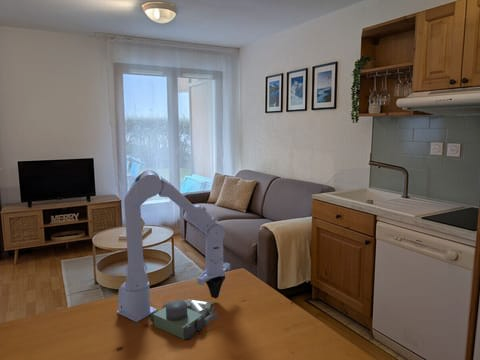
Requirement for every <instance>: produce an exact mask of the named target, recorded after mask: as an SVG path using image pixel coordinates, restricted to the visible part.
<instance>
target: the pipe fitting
mask: <svg viewBox="0 0 480 360" xmlns="http://www.w3.org/2000/svg"><path fill="white" fill-rule="evenodd" d="M186 300H187V301H186V303H187V308H188V309H190V310H193V311H195V312H198V313H200V314H203V318H206V317H207V316H208V315H210V314H212V313H213V312H214V302H213V301H205V300H204V301H202V300H196V299H195V300H194V299H189V298H188V299H186Z"/></svg>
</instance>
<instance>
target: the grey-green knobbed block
mask: <svg viewBox="0 0 480 360" xmlns="http://www.w3.org/2000/svg"><path fill="white" fill-rule="evenodd" d="M186 301H187V299H185V300H181V299H179V300H177V299H174V300H172V301H169V302H168V303H165V304H164V305H162V308H161V309H160V310H158V309H157V310H155V311H153V312H152V313H151V314H150V316H149V321H150V322H151V323H153V326H155V327H157V328H159V329H161V330H162V331H165V332H167V333H169V334H172V335H174V336H175V337H177V338H180V339H182V340H191V339H192V338H193V337H194V335H195V333H196V332H197V331H199V332H201V331H203V330H204V329H205V327H206V326H207V325H208V324H210V323H211V322H212V321H214V320H215V319H216V318H218V312H217V311H214V310H213V311H212V313H211V314H208V315H206V317H205V318H203V314H200V313H198V312H195V311H193V310H190V309H188V308H187V303H186Z"/></svg>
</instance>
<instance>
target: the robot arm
mask: <svg viewBox="0 0 480 360" xmlns="http://www.w3.org/2000/svg"><path fill="white" fill-rule="evenodd" d="M157 195H159V197H161V198H169V199H170V200H171V201H172V202H173V203H175V205H177V206H178V207H179V208H180V209H182V210H183V211H184V212H185V213H186V219H187V220H188V221H189V222H190V223H191V224H193V226H194V227H196V229H198V230H199V231H200V232H202V233H203V234H204V235H205V244H204V247H205V249H204V251H205V258H204V259H205V261H204V262H205V270H204V271H203V272H202V273H201V275H200V276H198V277H197V284H198V285H200V286H204V285H205V284H206V285H207V287H208V292H209V295H210V296H211V297H210V298H213V299H218V298H219V296H220V292H221V288H222V285H223V283H224V282H225V279H226V273H227V272H226V271H229V270H231V263H228V262H224V238H225V236H226V232H225V231H226V230H225V228H224V226H223V225H222V224H221V223H220V221H219V220H218V218H217V217H216V216H212V215H211V214H210V213H209V212H208V211H207V208H206V206H204V205H200V204H193V203H192V202H190V201H189V199H188V198H186V196H185V195H183V194H182V193H181V192H180V191H179V190H178V189H177V188H176V187H175V186H174V185H173V184H172V183H171V182H169V181H168V180H166V178H164V177H162V176H159V174H158V173H157V172H155V171H153V170H145V171H143V172H141V173H140V174H138V176H137V177H135V179H134V181H133V183H132V184H131V186H130V188H129V189H128V191H127V193H126V194H125V196H124V200H123V203H124V215H125V216H124V217H125V221H124V222H125V234H126V235H125V237H126V249H127V251H126V252H127V264H126V267H125V274H126V275H125V281H124V282H123V283H121V285H120V287H119V289H118V293H117V294H118V296H117V297H118V309H117V310H116V313H117V314H119V315H121V316H122V317H125V318H127V319H129V320H131V321H133V322H135V323H138V322H140V321H141V320H143V319H145V318H147V317H148V316H149V315H151V313H152V312H153V311H155V310H158V309H157V308H155V307H154V306H151V296H150V295H151V293H150V282H149V277H148V272H147V265H146V263H145V262H144V261H145V260H144V248H143V231H142V230H143V229H142V214H141V213H142V212H141V211H142V210H141V206H142V205H143V204H144V203H146V202H147V201H148V199H151V198H153V197H155V196H157Z"/></svg>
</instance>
